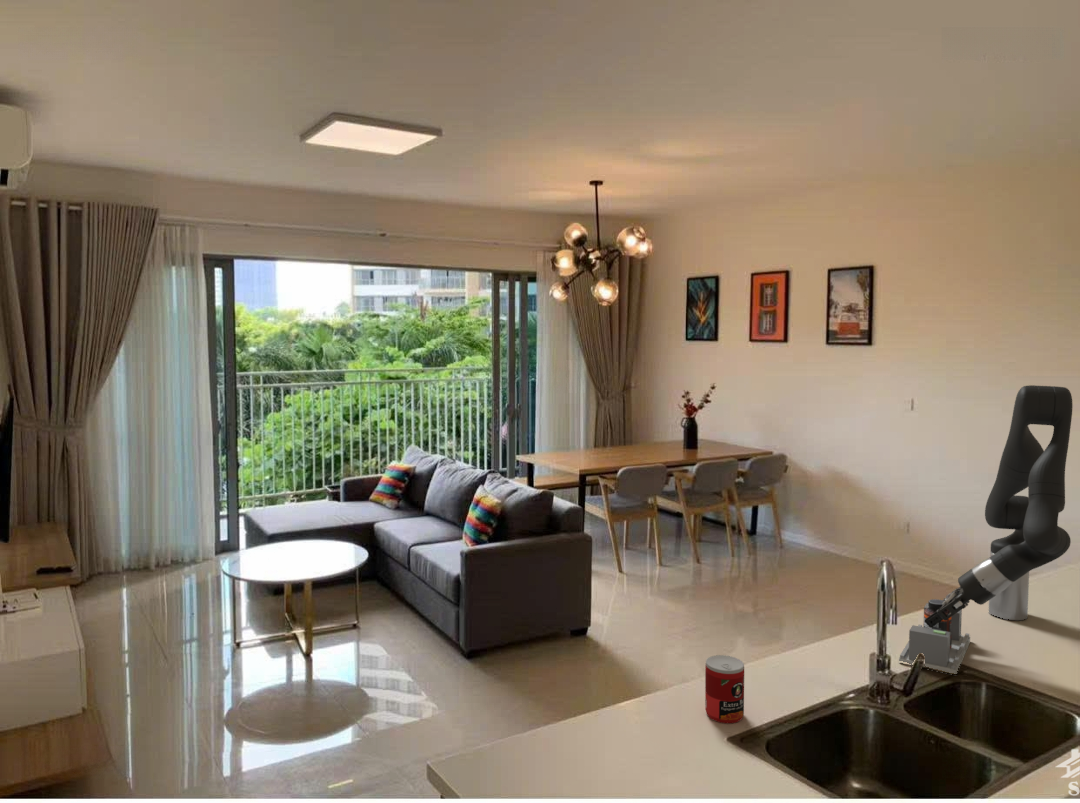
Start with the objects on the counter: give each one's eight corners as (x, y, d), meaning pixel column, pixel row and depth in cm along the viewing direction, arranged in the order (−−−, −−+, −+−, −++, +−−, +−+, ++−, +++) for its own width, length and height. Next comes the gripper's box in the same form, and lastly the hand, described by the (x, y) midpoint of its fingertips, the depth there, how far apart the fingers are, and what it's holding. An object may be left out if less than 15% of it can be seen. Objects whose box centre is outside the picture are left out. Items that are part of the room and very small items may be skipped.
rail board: (917, 631, 203) (918, 599, 202) (970, 641, 196) (971, 608, 195) (898, 663, 183) (899, 627, 183) (956, 675, 176) (957, 638, 176)
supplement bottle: (945, 642, 192) (945, 597, 191) (956, 651, 186) (956, 605, 185) (920, 642, 193) (920, 597, 192) (930, 651, 187) (930, 605, 186)
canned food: (722, 727, 154) (723, 673, 153) (697, 711, 161) (697, 659, 160) (752, 718, 157) (753, 665, 156) (725, 702, 164) (726, 652, 163)
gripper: (977, 560, 189) (923, 598, 197) (969, 575, 178) (913, 614, 185) (1001, 585, 187) (946, 622, 194) (995, 602, 175) (937, 640, 183)
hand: (930, 618), depth 190 cm, fingers open, 8 cm apart
